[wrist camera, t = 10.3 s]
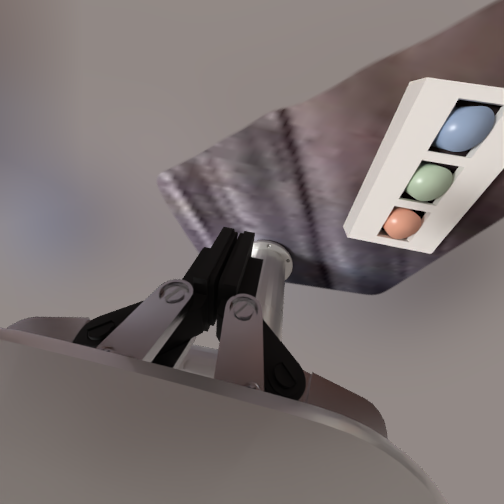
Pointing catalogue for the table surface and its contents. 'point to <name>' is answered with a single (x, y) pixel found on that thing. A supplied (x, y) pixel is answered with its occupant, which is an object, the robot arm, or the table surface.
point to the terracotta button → (402, 223)
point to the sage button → (429, 182)
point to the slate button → (464, 128)
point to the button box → (416, 149)
